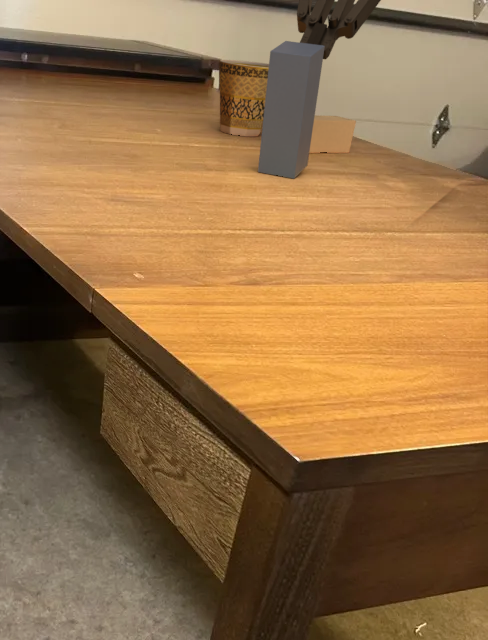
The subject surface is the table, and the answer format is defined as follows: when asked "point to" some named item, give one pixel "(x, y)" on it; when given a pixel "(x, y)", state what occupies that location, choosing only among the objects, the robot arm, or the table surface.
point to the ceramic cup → (242, 96)
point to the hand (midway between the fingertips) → (302, 75)
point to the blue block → (290, 108)
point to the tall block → (331, 134)
